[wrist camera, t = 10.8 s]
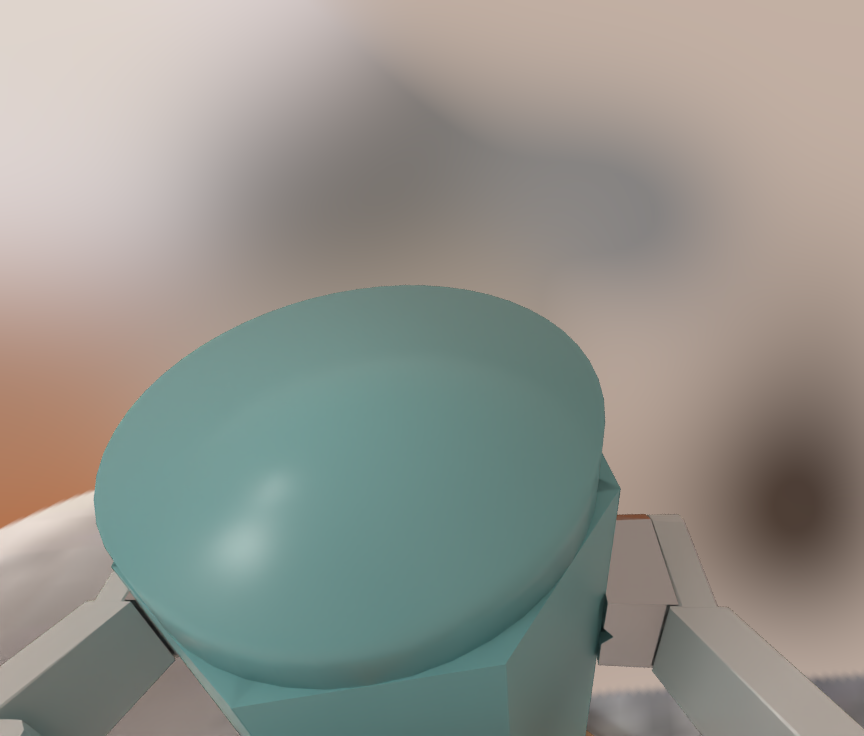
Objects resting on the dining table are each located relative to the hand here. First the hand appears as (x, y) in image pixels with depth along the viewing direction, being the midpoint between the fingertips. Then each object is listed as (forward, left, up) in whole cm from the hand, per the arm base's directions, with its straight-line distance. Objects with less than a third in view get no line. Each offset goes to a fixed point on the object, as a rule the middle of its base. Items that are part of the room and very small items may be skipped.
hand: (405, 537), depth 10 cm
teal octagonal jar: (+1, -1, -5) cm, 5 cm away
